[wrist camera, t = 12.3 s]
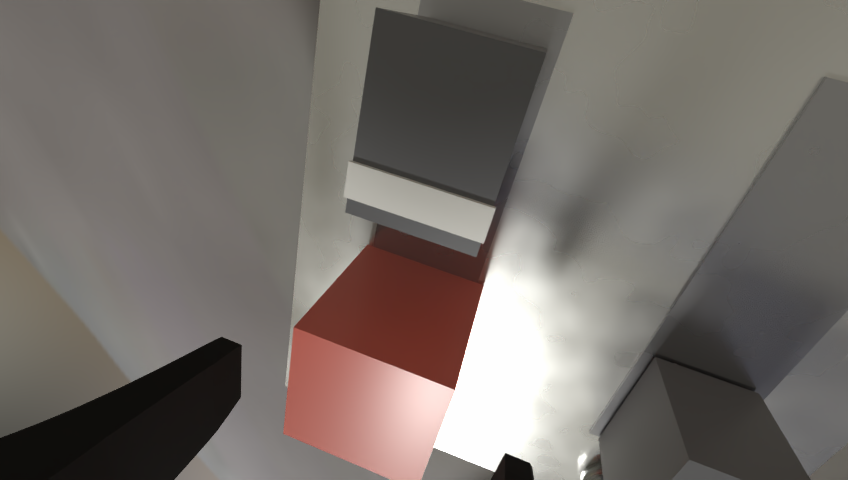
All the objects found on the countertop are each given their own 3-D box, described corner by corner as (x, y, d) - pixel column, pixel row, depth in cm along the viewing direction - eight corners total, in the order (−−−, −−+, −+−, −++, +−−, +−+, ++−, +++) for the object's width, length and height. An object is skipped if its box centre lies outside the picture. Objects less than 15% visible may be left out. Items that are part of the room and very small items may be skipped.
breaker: (761, 394, 12) (835, 519, 9) (688, 473, 14) (728, 599, 11) (653, 356, 12) (688, 463, 9) (596, 438, 14) (609, 549, 11)
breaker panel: (1696, -440, 5) (2278, -683, 4) (698, 520, 17) (715, 578, 15) (408, -539, 8) (364, -718, 6) (303, 362, 19) (277, 396, 17)
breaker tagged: (549, 49, 10) (549, 53, 7) (497, 201, 12) (477, 260, 8) (426, 16, 10) (370, 6, 7) (395, 168, 12) (341, 213, 9)
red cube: (483, 285, 13) (455, 390, 9) (451, 373, 15) (416, 490, 11) (367, 244, 14) (293, 327, 10) (350, 334, 15) (283, 433, 12)
